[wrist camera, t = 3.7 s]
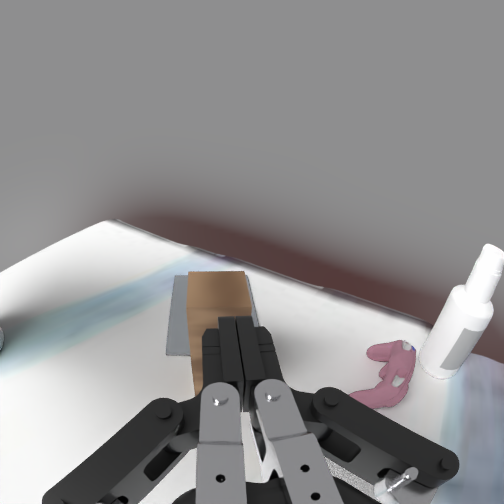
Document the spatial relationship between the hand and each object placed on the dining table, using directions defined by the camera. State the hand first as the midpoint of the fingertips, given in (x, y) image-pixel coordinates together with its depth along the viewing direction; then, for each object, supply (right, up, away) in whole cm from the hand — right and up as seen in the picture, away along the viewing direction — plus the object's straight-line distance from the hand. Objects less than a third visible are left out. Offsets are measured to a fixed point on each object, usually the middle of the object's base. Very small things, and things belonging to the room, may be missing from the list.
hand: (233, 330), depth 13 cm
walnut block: (-3, -11, +17) cm, 21 cm away
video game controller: (+16, -13, +18) cm, 27 cm away
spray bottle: (+27, -12, +20) cm, 36 cm away
